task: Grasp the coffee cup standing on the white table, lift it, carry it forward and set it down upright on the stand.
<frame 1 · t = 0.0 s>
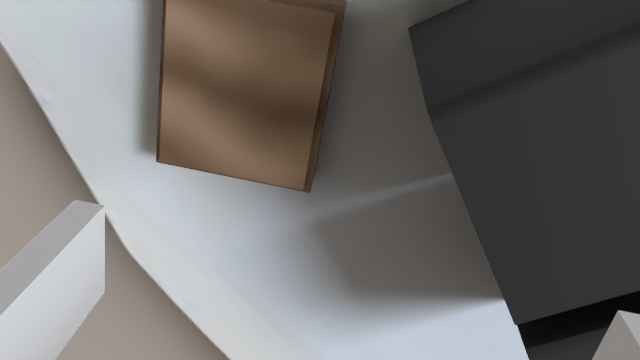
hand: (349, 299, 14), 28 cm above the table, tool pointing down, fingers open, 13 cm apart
speaker: (536, 149, 42), on the table
stand: (249, 81, 41), on the table
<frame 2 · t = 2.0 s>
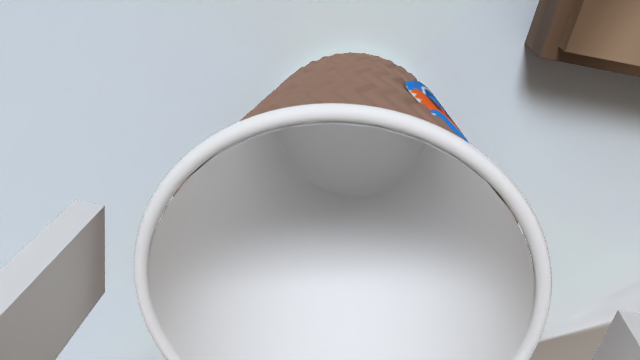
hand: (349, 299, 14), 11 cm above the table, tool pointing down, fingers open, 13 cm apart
coffee cup: (352, 128, 25), on the table
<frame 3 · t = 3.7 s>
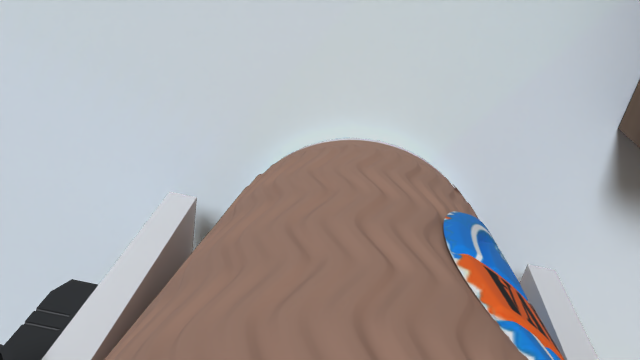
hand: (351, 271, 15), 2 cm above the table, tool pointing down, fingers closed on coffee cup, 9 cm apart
coffee cup: (353, 239, 17), on the table, touching gripper
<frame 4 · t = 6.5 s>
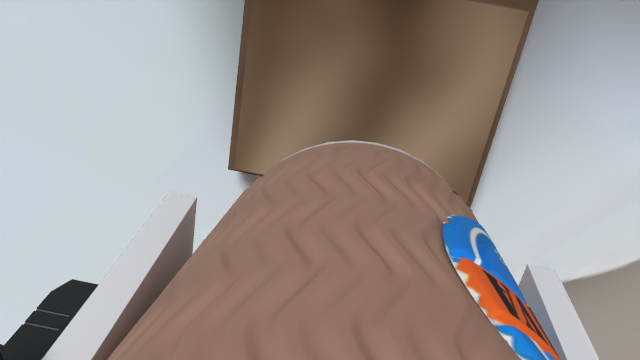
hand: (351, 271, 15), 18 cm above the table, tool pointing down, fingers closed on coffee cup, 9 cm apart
coffee cup: (352, 241, 17), point 16 cm above the table, touching gripper
stand: (369, 81, 31), on the table
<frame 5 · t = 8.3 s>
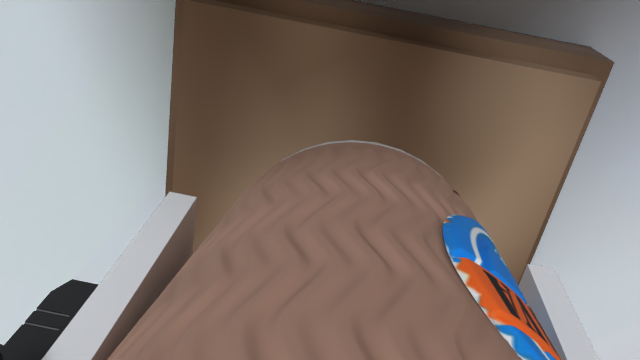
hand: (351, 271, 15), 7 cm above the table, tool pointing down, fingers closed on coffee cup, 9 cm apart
coffee cup: (353, 241, 17), point 6 cm above the table, touching gripper
stand: (358, 161, 22), on the table
when the fingers open (6 cm above the table, at t = 9.6 s): coffee cup drops 1 cm, point 3 cm above the table.
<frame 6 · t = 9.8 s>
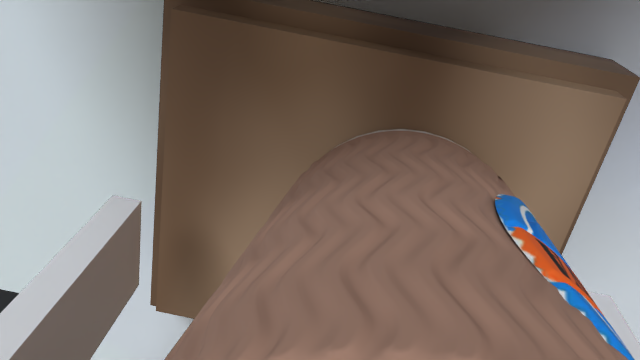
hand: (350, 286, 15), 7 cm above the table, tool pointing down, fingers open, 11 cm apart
coffee cup: (397, 225, 18), point 3 cm above the table, touching gripper
stand: (361, 180, 21), on the table
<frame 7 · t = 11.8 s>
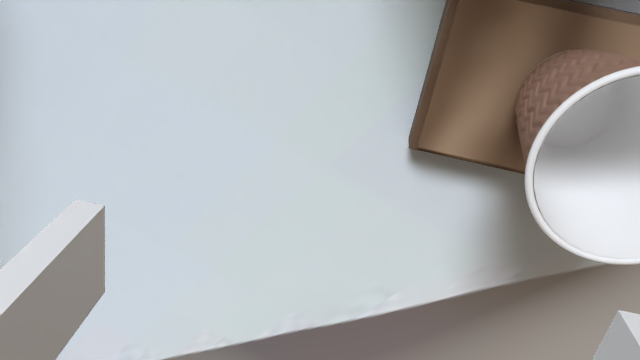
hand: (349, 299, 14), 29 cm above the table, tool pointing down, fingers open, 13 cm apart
coffee cup: (568, 99, 37), point 3 cm above the table, touching stand
stand: (525, 82, 40), on the table
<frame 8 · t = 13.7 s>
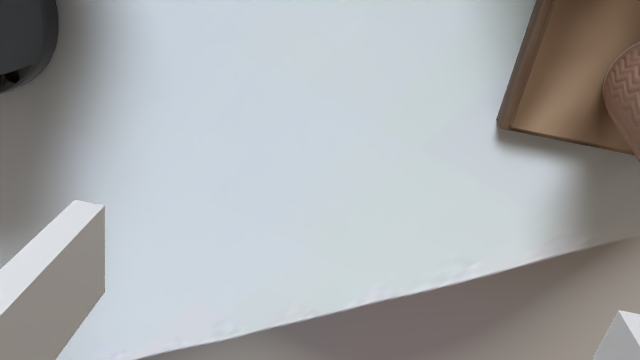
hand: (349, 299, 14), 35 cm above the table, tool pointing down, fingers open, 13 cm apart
stand: (605, 67, 45), on the table
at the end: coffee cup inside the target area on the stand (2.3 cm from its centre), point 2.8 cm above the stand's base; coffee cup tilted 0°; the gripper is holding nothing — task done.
